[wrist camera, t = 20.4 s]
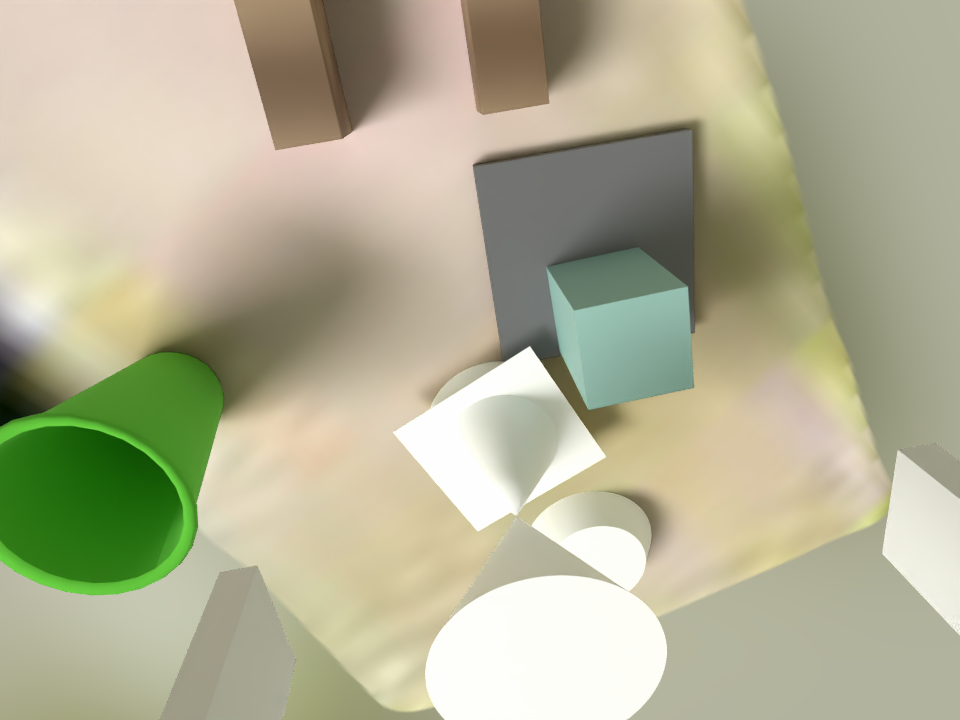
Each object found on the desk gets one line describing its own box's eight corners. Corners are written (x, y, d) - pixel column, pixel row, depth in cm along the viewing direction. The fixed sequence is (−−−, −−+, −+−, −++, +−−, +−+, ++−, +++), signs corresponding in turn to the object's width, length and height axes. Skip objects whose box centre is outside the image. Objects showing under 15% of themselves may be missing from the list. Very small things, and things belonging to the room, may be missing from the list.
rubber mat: (472, 165, 32) (473, 167, 31) (686, 128, 32) (692, 129, 31) (502, 360, 36) (504, 365, 36) (689, 327, 36) (694, 332, 36)
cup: (179, 284, 33) (70, 373, 23) (293, 407, 37) (242, 530, 27) (57, 374, 35) (-94, 494, 25) (177, 484, 38) (88, 628, 28)
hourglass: (675, 552, 43) (817, 822, 28) (563, 613, 45) (635, 902, 29) (524, 331, 36) (599, 530, 20) (394, 413, 37) (369, 658, 22)
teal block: (546, 266, 33) (573, 310, 27) (638, 247, 33) (688, 286, 27) (559, 350, 35) (588, 409, 29) (646, 332, 35) (694, 387, 29)
